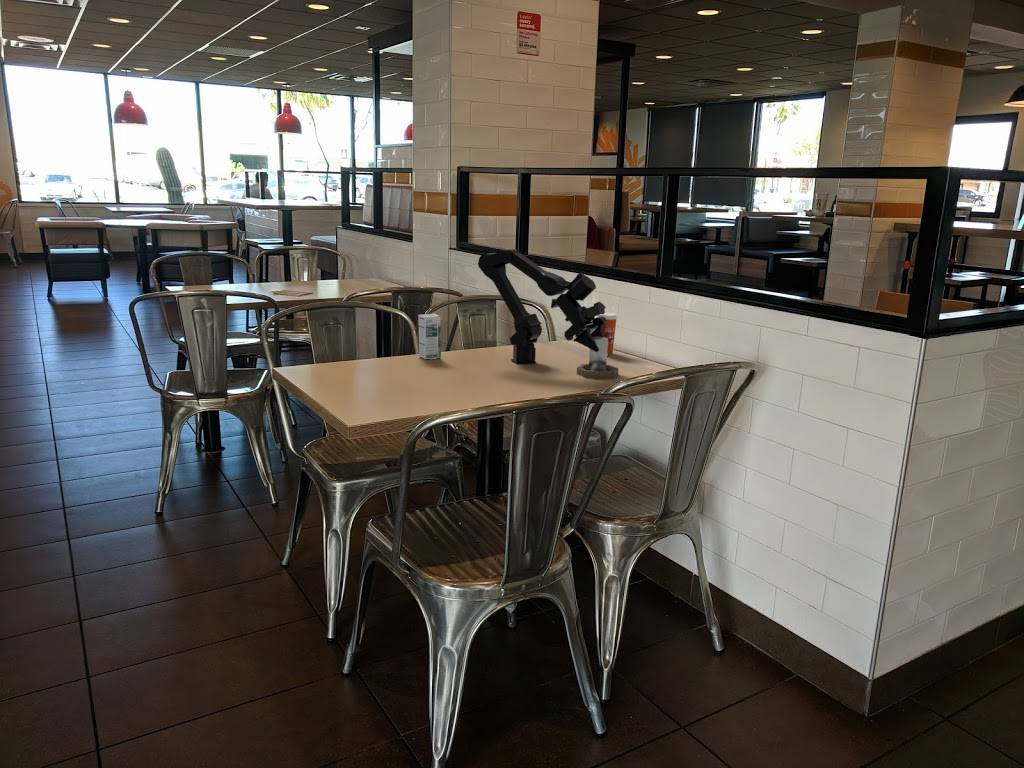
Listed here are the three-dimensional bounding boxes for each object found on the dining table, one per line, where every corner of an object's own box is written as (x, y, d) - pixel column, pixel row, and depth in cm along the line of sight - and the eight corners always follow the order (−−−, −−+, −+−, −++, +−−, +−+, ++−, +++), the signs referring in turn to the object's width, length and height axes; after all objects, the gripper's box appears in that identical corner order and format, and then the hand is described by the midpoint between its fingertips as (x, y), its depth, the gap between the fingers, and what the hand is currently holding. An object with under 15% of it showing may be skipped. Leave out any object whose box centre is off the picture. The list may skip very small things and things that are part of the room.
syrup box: (425, 360, 251) (424, 316, 247) (418, 356, 256) (418, 313, 252) (441, 359, 253) (441, 315, 250) (434, 355, 258) (434, 313, 255)
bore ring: (588, 379, 230) (588, 373, 229) (571, 371, 241) (572, 364, 240) (623, 377, 234) (624, 370, 233) (605, 368, 245) (605, 362, 244)
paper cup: (608, 356, 263) (610, 316, 260) (589, 353, 268) (591, 313, 264) (619, 353, 269) (621, 313, 266) (600, 350, 274) (602, 311, 270)
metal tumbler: (589, 371, 234) (591, 339, 232) (587, 367, 240) (589, 336, 237) (607, 372, 234) (609, 340, 232) (604, 368, 240) (606, 336, 237)
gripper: (575, 296, 226) (606, 338, 223) (603, 290, 241) (633, 329, 238) (551, 319, 232) (581, 360, 229) (580, 312, 247) (609, 351, 244)
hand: (602, 349), depth 235 cm, fingers closed on metal tumbler, 5 cm apart
